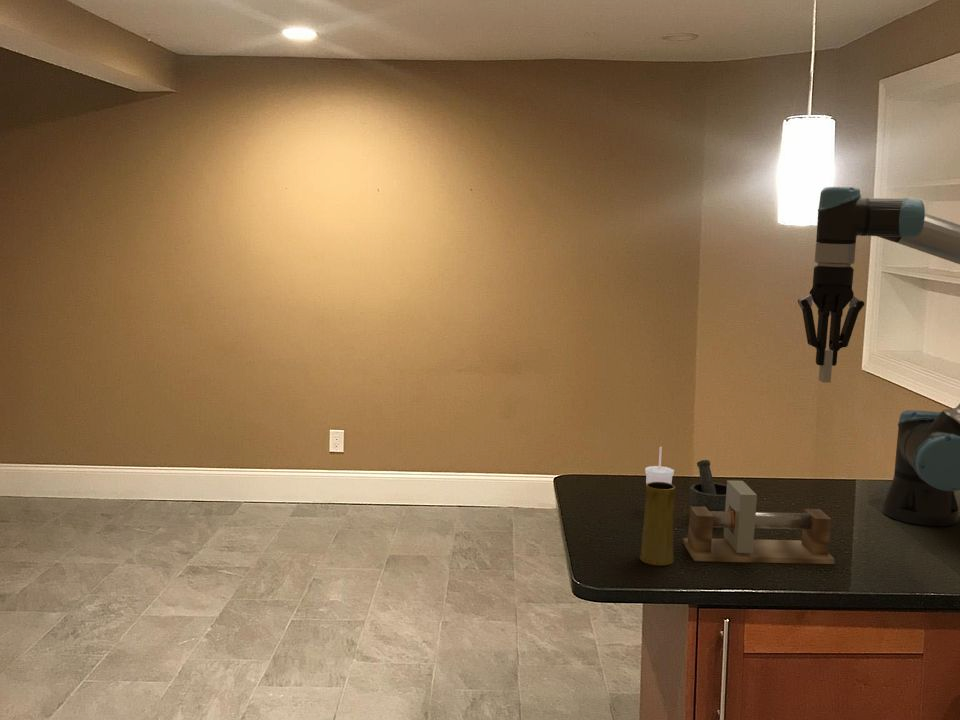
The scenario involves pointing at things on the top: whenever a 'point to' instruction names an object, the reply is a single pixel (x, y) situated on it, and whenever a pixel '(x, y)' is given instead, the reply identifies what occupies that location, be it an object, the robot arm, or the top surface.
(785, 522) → the pipe
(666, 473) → the beverage cup
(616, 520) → the top surface
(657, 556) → the vase
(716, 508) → the mortar and pestle
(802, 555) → the stand
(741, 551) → the collar
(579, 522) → the top surface
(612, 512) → the top surface
